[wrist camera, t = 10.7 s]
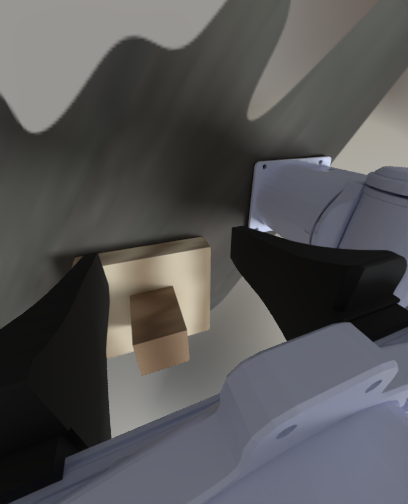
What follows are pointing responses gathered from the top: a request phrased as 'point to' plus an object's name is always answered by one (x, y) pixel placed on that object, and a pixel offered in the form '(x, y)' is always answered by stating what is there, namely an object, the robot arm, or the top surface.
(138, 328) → the walnut block
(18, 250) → the top surface
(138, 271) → the birch block
